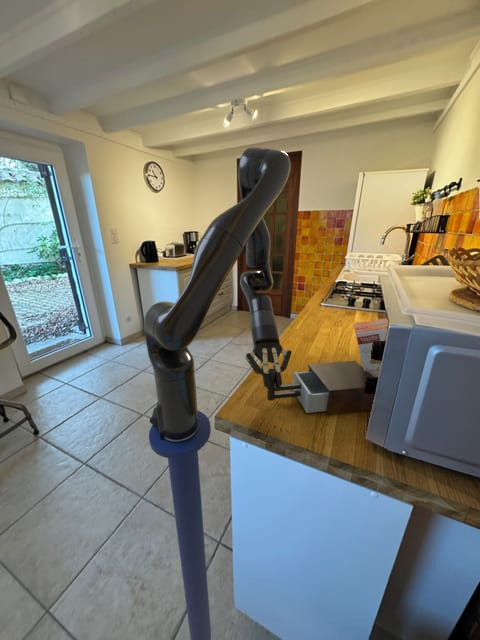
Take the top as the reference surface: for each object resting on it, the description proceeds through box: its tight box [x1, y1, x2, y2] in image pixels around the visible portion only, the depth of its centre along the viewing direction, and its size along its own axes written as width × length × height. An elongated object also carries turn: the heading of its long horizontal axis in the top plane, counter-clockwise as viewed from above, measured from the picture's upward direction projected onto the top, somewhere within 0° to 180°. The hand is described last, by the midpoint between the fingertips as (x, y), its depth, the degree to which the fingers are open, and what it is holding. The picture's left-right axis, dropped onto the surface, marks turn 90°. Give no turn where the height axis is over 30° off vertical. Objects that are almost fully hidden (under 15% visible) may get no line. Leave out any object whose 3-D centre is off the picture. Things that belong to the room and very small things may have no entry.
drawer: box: [266, 368, 329, 414], centre depth 71 cm, size 23×11×10 cm, turn 99°
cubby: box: [307, 360, 374, 415], centre depth 73 cm, size 16×14×8 cm
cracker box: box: [353, 317, 388, 377], centre depth 72 cm, size 14×6×21 cm, turn 71°
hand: (273, 387), depth 67 cm, fingers closed on drawer, 2 cm apart
